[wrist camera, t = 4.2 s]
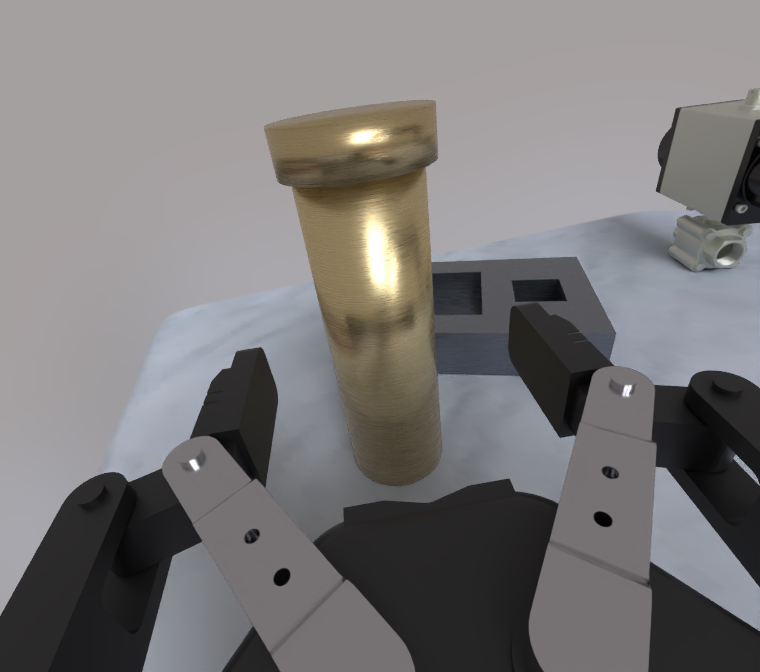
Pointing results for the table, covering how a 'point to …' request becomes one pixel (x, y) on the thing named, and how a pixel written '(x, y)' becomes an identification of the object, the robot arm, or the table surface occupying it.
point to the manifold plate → (507, 308)
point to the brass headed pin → (372, 271)
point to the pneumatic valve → (713, 180)
